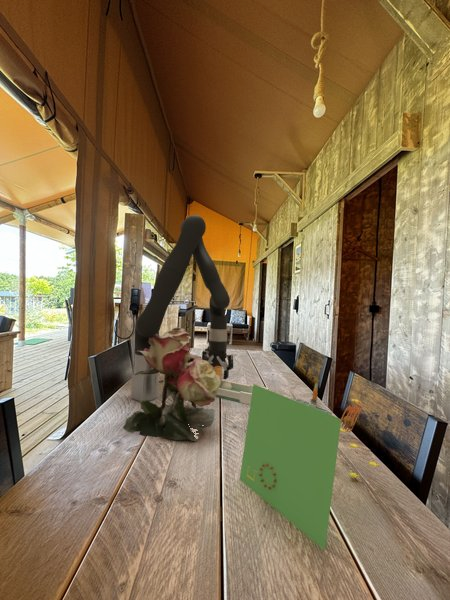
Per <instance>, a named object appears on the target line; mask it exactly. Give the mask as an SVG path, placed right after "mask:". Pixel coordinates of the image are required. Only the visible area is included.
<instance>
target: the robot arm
mask: <svg viewBox="0 0 450 600" xmlns="http://www.w3.org/2000/svg"><path fill="white" fill-rule="evenodd" d="M206 227H207V226H206V222H205V219H204V218H203V217H202V216H200V215H198V214H192V215H189V216H187V217H186V218H185V219H184V220H183V221H182V223H181V225H180V233H179V237H178V240H177V241H176V243H175V245H174V247H173V249H172V250H171V251H170V252H169V254H168V255H167V257H166V259H165V260H164V262H163V264H162V266H161V268H160V270H159V273H158V274H157V277H156V279H155V283H154V285H153V288H152V293H151V296H150V299H149V300H148V303H147V305H146V306H145V308H144V309H143V311H142V313H140V314H139V315H138V316H137V318H136V319H135V325H134V326H135V327H134V332H135V333H134V363H133V364H134V366H133V373H132V374H131V393H130V395H131V397H130V398H131V400H134V401H137V402H139V401H141V400H142V399H143V400H148V401H149V402H150V401H153V400H155V399H157V398H158V394H159V393H158V389H159V382H158V381H159V373H156V374H138V375H134V374H135V373H137V372H140V371H150V370H153V368H151V366H150V365H149V364H148V363H147V362H146V360H145V358H144V355H143V354H142V353H141V352H137V351H138V350H142V351H144V349H145V348H146V349H150V346H151V345H150V344H149V343H148V342H149V341H148V340H149V338H153V337H156V336H155V334H158V335H159V336H160V329H161V328H162V323H163V321H164V318H165V315H166V312H167V310H168V308H169V305H170V303H171V301H173V299H174V297H175V295H176V293H177V291H178V289H179V288H180V285H181V283H182V281H183V279H184V277H185V274H186V272H187V270H188V268H189V264H190V263H191V262H190V261H191V259H192V257H193V258H194V261H195V264H196V266H197V268H198V270H199V273H200V277H201V278H202V281H203V283H204V286H205V288H206V289H207V290H208V291H209V293H210V295H211V296H210V297H209V305H208V306H209V312H210V323H209V324H210V326H209V333H208V334H209V338H208V346H209V352H207V351H205V350H204V351H202V352H201V353H202V354H201V359H203V360H206V361H207V356H208V355H209V357H210V359H209V360H208V362H209V364H210V365H211V363H212V362H213V363H217V364H221V366H222V369H223V380H227V379H228V378H229V374H230V373H229V371H231V370H232V369H234V355H233V353H231V354H227V348H228V347H227V346H228V345H227V344H228V318H227V316H226V314H225V313H226V311H225V309H226V308H228V307H229V305H230V304H231V303H230V302H231V301H230V300H231V299H230V295H229V293H228V291H227V289H226V287H225V285H224V283H223V282H222V280H221V276H220V274H219V270H218V269H217V265H216V264H215V262H214V260H213V259H212V258H211V255H210V254H209V252H208V251H207V248H206V246H205V242H204V239H203V236H205V233H206V229H207V228H206Z"/></svg>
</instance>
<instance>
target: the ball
mask: <svg viewBox="0 0 450 600" xmlns="http://www.w3.org/2000/svg"><path fill="white" fill-rule="evenodd" d="M231 387H232V386H231V384H230V383H229V382H224V383H223V384H222V389H227V390H231Z"/></svg>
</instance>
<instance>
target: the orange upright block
mask: <svg viewBox="0 0 450 600" xmlns="http://www.w3.org/2000/svg"><path fill="white" fill-rule="evenodd" d="M213 371H215V373H216V375H218V376H220V377H221V378H222V380H223V366H215V367H213ZM222 380H221V384H220V386H219V388H221V387H222Z"/></svg>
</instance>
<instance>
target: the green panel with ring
mask: <svg viewBox="0 0 450 600" xmlns="http://www.w3.org/2000/svg"><path fill="white" fill-rule="evenodd" d="M252 385H253V390H252V397H251V404H250V405H249V411H248V419H247V427H246V433H245V439H244V440H245V441H244V445H243V446H244V448H243V453H242V461H241V465H240V466H241V468H240V475H239V480H240V481H241V482H242V483H244V485H245V486H247V487H248V488H249V489H251V490H252V491H253V492H254V493H255V494H256V495H258V496H259V498H261V499H262V500H263V501H265V502H266V503H267V504H269V505H270V506H271V508H273V509H274V510H276V512H278V513H279V514H280V515H282V516H283V517H284V518H286V519H287V520H288V522H290V523H291V524H292V525H293V526H295V527H296V528H297V529H298V530H300V531H301V532H302V533H303V534H304V535H305V536H306V537H308V538H309V539H310V540H311V541H312V542H314V543H315V544H316V545H317V546H318V547H320V548H321V549H322V550H323V551H324V552H325V551H326V547H327V546H326V545H327V538H328V531H329V521H330V514H331V513H330V512H331V505H332V498H333V497H332V496H333V490H334V489H333V488H334V481H335V474H336V466H337V465H338V463H337V458H338V449H339V440H340V433H341V432H342V433H346V434H347V433H348V434H351V432H352V430H353V428H354V426H355V424H356V422H357V419H358V417H359V415H360V414H361V411H362V408H363V405H364V403H362V401H361V400H358V399H355V398H350V401H351V402H353V403H352V406H351V405H348V406H347V407H346V408H345V410H344V411H343V414H342V416H341V418H339V417H336V416H334V415H333V413H332V412H330V411H327V410H326V409H323V408H321V407H318V402H317V399H318V398H317V397H318V388H319V387H318V383H316V382H315V383H314V387H313V391H312V398H311V399H310V402H307V401H304V400H302V399H297V400H294V399H292V398H289V397H286V396H284V395H281V394H280V393H277V392H275V391H272V390H270V389H269V390H267V389H265V388H262V387H263V386H261V387H260V385H257V384H254V383H253V384H252ZM361 403H362V404H361ZM354 404H355V406H354ZM360 406H361V407H360ZM347 411H348V413H347V415H346V416H345V414H346V412H347ZM343 426H344V427H343ZM348 445H349V447H350V448H354V449H358V448H359V449H360V447H361V446H360V445H357V444H356V443H349V444H348ZM367 463H368V465H369V466H371V467H374V468H376V467H379V466H380V465H379V464H377V463H376V462H375V461H369V460H368V461H367ZM348 473H349V477H353V478H355V479H357V478H360V477H361V476H360V475H359V474H357V473H356V472H350V471H349V472H348Z"/></svg>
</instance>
